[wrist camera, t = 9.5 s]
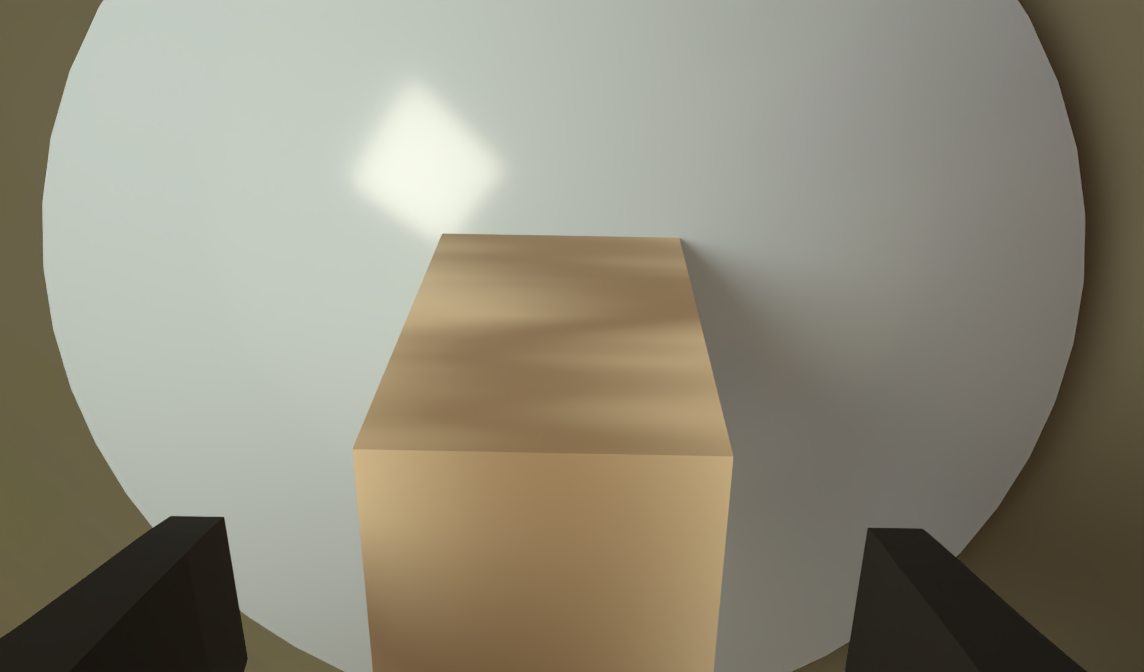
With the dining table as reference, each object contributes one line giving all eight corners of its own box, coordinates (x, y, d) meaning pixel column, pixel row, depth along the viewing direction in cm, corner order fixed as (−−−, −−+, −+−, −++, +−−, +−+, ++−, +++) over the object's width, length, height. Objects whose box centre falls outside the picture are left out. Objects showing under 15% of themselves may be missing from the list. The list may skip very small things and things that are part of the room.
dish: (1169, -240, 15) (1215, -249, 14) (962, 684, 22) (982, 726, 21) (-33, -247, 15) (-82, -258, 14) (162, 670, 23) (141, 711, 21)
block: (679, 237, 17) (733, 456, 10) (666, 442, 18) (707, 739, 12) (442, 233, 17) (351, 449, 10) (451, 438, 19) (378, 731, 12)
